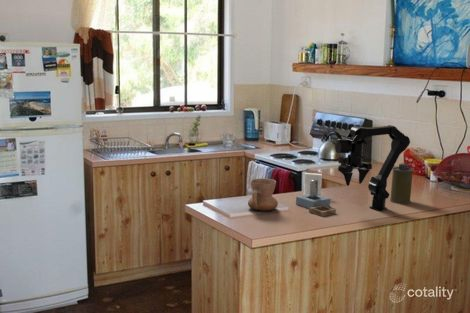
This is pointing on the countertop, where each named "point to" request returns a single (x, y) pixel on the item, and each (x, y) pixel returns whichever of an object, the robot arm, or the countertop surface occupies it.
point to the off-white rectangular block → (307, 182)
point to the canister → (401, 184)
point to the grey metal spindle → (313, 189)
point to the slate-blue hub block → (312, 201)
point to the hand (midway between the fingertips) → (354, 184)
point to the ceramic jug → (263, 194)
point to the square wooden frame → (324, 209)
